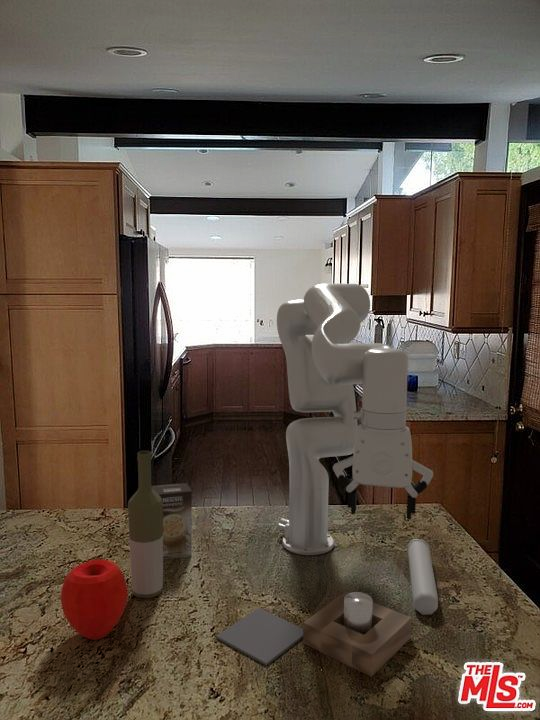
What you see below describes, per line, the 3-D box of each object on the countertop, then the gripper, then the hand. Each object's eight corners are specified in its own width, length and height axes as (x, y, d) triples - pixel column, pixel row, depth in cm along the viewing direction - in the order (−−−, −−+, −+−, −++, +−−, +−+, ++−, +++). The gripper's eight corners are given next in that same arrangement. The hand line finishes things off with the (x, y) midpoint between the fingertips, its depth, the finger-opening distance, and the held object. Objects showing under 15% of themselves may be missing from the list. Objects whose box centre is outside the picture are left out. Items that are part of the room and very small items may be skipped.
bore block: (303, 643, 106) (303, 622, 105) (345, 610, 116) (345, 591, 116) (371, 677, 97) (372, 654, 96) (410, 638, 108) (411, 617, 107)
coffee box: (153, 562, 136) (151, 495, 134) (149, 550, 142) (148, 485, 140) (192, 556, 139) (191, 490, 137) (187, 544, 145) (186, 481, 143)
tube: (445, 601, 113) (433, 543, 137) (418, 590, 114) (411, 535, 138) (434, 625, 114) (424, 563, 138) (408, 614, 115) (403, 554, 139)
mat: (215, 638, 107) (215, 635, 107) (259, 610, 116) (259, 607, 116) (266, 665, 100) (266, 663, 100) (308, 633, 109) (308, 631, 109)
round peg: (337, 641, 106) (339, 600, 105) (352, 629, 110) (353, 589, 109) (362, 653, 103) (363, 610, 102) (376, 639, 107) (377, 598, 106)
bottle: (171, 588, 124) (168, 450, 120) (151, 604, 118) (148, 459, 114) (143, 581, 127) (140, 445, 123) (122, 596, 121) (118, 454, 117)
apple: (76, 613, 115) (73, 548, 113) (136, 615, 114) (134, 549, 113) (51, 651, 103) (48, 579, 101) (118, 653, 103) (116, 581, 101)
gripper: (331, 421, 101) (329, 517, 103) (436, 427, 97) (432, 527, 99) (336, 412, 108) (334, 502, 110) (434, 417, 104) (430, 510, 106)
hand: (381, 514), depth 105 cm, fingers open, 9 cm apart
